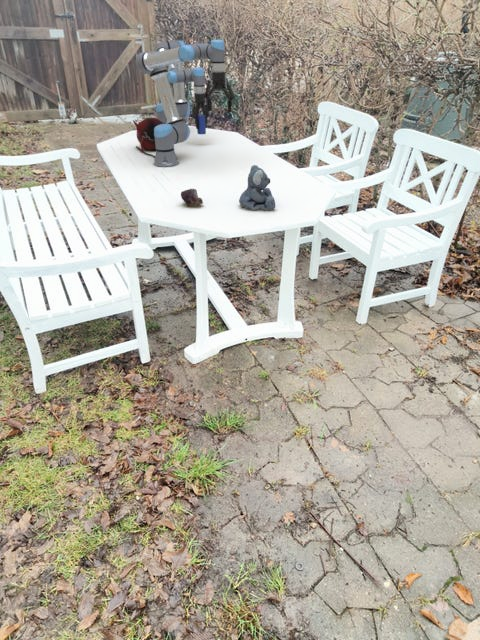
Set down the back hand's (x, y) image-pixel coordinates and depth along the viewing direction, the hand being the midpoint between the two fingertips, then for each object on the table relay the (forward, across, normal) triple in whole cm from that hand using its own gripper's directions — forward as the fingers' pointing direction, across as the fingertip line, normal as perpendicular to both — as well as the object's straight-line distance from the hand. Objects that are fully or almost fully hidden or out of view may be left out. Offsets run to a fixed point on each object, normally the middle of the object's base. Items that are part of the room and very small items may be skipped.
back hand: (201, 128), depth 326 cm
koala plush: (+11, -61, -116) cm, 132 cm away
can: (+4, 0, 0) cm, 4 cm away
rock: (+11, -84, -92) cm, 125 cm away
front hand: (-21, -27, -51) cm, 61 cm away
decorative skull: (+12, -30, +19) cm, 37 cm away
